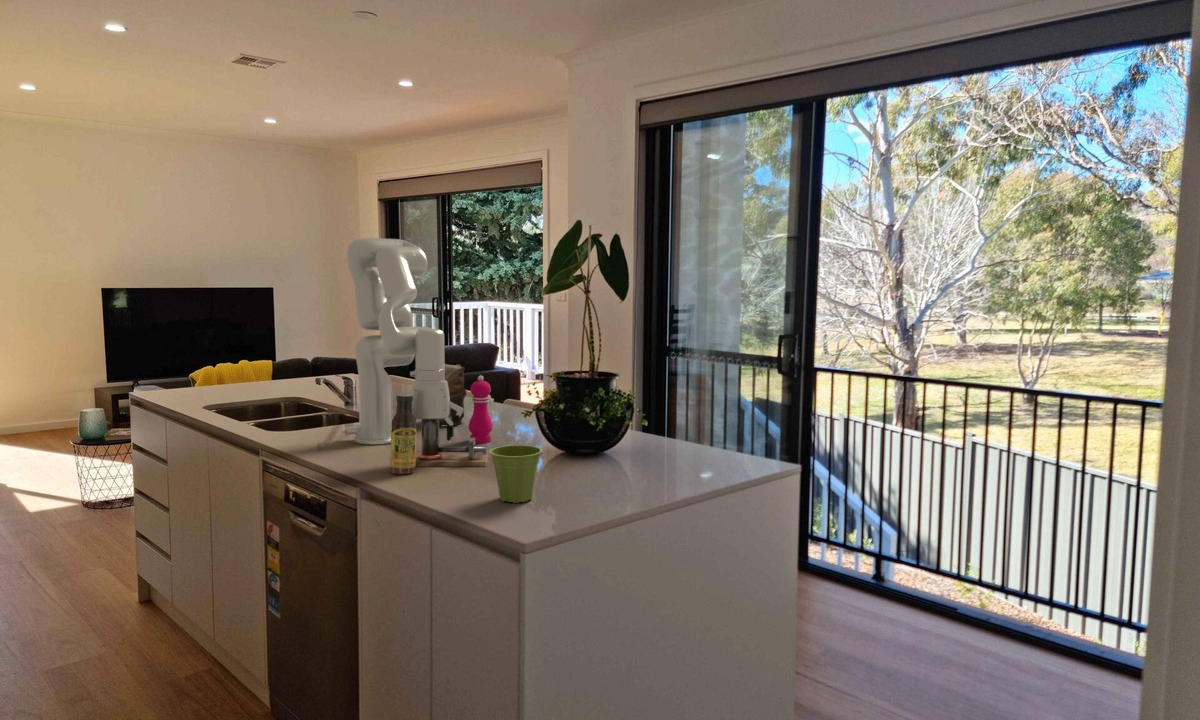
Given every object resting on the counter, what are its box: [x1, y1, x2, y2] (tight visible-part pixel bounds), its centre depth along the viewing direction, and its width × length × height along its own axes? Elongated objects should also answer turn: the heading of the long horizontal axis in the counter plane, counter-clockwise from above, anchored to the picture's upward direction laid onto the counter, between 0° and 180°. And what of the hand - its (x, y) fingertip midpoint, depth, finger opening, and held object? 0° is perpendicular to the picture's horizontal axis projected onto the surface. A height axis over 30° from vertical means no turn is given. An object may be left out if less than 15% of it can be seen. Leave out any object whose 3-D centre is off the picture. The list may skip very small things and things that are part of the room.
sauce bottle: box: [389, 393, 417, 476], centre depth 197 cm, size 7×6×20 cm
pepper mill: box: [468, 375, 493, 444], centre depth 236 cm, size 7×7×20 cm
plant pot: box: [488, 444, 543, 504], centre depth 176 cm, size 12×12×11 cm
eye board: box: [415, 438, 489, 467], centre depth 210 cm, size 22×9×6 cm, turn 94°
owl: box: [439, 363, 467, 426], centre depth 263 cm, size 13×13×20 cm
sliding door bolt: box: [417, 419, 487, 460], centre depth 209 cm, size 18×6×11 cm, turn 94°
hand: (430, 439), depth 209 cm, fingers open, 9 cm apart
